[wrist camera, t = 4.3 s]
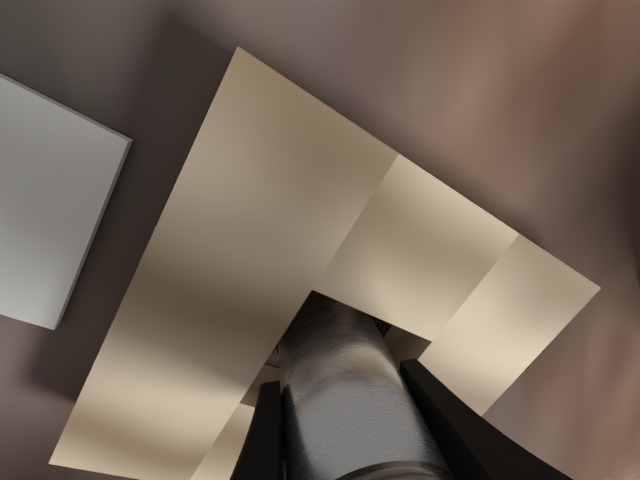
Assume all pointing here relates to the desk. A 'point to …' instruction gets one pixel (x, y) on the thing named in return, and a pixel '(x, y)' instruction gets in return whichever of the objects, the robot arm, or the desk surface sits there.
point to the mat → (49, 199)
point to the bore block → (300, 282)
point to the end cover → (349, 402)
